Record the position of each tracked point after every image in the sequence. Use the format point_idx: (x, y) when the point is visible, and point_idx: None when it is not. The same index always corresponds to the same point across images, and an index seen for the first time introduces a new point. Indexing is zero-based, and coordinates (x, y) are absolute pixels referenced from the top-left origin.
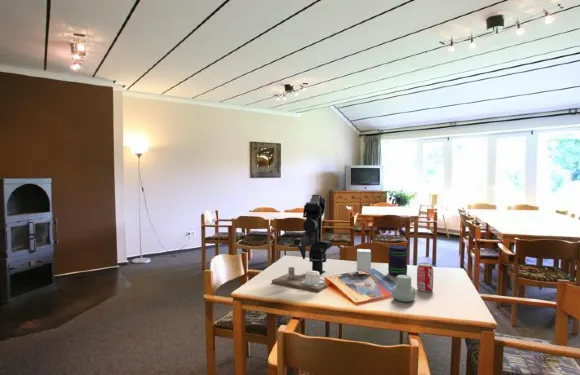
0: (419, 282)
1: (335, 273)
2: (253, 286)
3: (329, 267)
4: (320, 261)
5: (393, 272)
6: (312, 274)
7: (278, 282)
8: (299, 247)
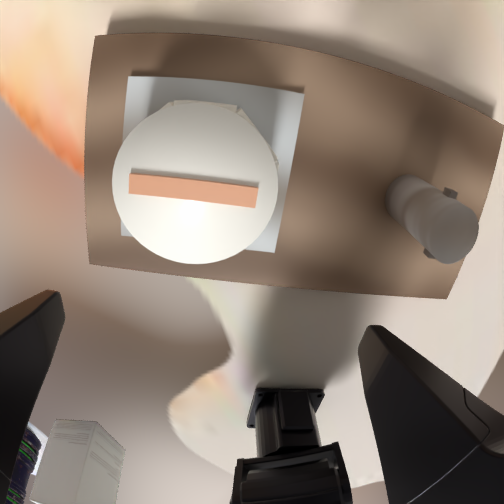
0: None
1: (189, 420)
2: None
3: None
4: (45, 291)
5: None
6: (159, 112)
7: (462, 105)
8: None
